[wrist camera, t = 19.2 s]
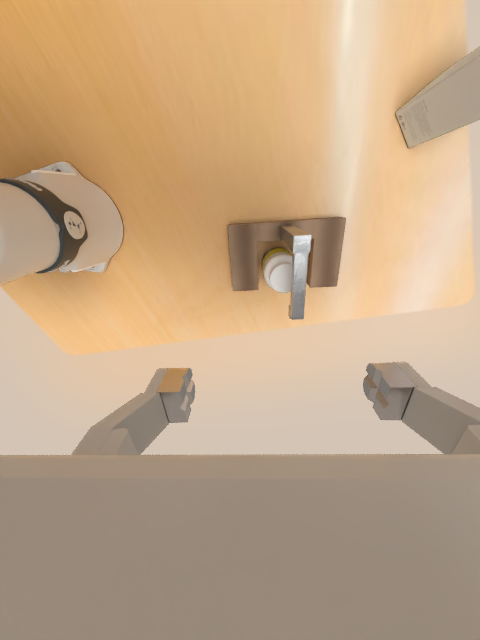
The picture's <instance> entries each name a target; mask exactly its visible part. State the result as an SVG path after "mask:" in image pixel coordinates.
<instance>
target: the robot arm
mask: <svg viewBox="0 0 480 640" xmlns="http://www.w3.org/2000/svg"><path fill="white" fill-rule="evenodd" d="M59 170H60V171H61V172H59ZM122 239H123V224H122V220H121V217H120V214H119V212H118V209H117V208H116V206H115V204H114V203H113V201H112V200H111V198H110V197H109V196H108V195H107V194H106V193H105V192H104V191H103V190H102V189H101V188H99V187H98V186H97V185H95V184H94V183H92V182H90V181H88V180H87V179H85V178H84V177H83V176H82V175H81V174H80V173H79V172H78V171H77V170H76V169H75V168H74V167H73V166H72V165H71V164H70V163H68V162H64V161H60V162H57V163H54V164H51V165H49V166H46V167H43V168H41V169H38V170H31V172H30V173H27V174H25V175H22V176H19V177H17V178H5V179H2V178H0V286H1V285H4V284H6V283H9V282H11V281H14V280H16V279H19V278H22V277H24V276H27V275H30V274H33V273H45V272H54V271H57V270H58V269H59V271H60V272H61V273H66V272H69V271H72V272H78V271H82V270H84V271H91V272H104V271H105V270H106V269H107V266H108V263H109V260H110V258H111V257H112V256H113V255H114V254H115V253H116V252H117V251H118V249H119V248H120V246H121V243H122ZM94 266H95V267H94ZM366 371H367V373H368V375H367V376H366V377H365V378H364V382H363V387H364V392H365V395H366V396H367V398H368V399H369V400H370V401H372V402H373V403H374V405H373V408H374V410H375V412H376V413H377V415H378V416H379V418H380V420H402V422H403V423H405V424H406V425H407V426H409V427H410V428H411V429H413V430H414V431H415V432H416V433H418V434H419V435H420V436H422V437H423V438H424V439H426V440H427V441H428V442H429V443H431V444H432V445H433V446H435V447H436V448H437V449H438V450H440V451H441V452H442V453H444V454H384V455H383V454H382V455H381V454H375V455H374V454H367V455H365V454H363V455H362V454H356V455H355V454H350V455H348V454H347V455H346V454H343V455H342V454H339V455H338V454H336V455H140V454H141V453H142V452H143V451H144V450H145V449H146V448H147V447H148V446H149V444H151V442H152V441H153V440H154V439H155V438H156V437H157V436H158V435H159V434H160V433H161V432H162V431H163V430H164V429H165V428H166V426H167V425H168V424H169V423H175V422H176V423H178V422H188V418H189V415H190V411H191V408H190V404H192V403H193V400H194V397H195V385H194V382H193V381H192V380H191V378H192V371H191V369H190V368H159V369H158V370H157V371H156V373H155V375H154V376H153V378H152V380H151V382H150V384H149V385H148V387H147V389H146V391H145V392H144V393H140V394H139V395H138V396H136V397H135V398H133V399H132V400H130V401H129V402H128V403H126V404H124V405H123V406H121V407H120V408H119V409H117V410H116V411H114V412H113V413H111V414H110V415H108V416H107V417H105V418H104V419H103V420H101V421H100V422H98V423H97V424H95V425H94V426H92V427H91V428H90V429H89V430H88V432H87V433H86V435H85V436H84V438H83V439H82V440H81V442H80V443H79V444H78V446H77V447H76V449H75V450H74V451H73V453H72V454H71V455H0V640H480V408H479V407H476V406H474V405H472V404H470V403H468V402H466V401H464V400H462V399H460V398H458V397H455V396H453V395H451V394H449V393H447V392H445V391H443V390H441V389H439V388H436V387H431V386H430V385H429V384H428V383H427V382H426V381H425V380H424V379H423V378H422V377H421V376H420V375H419V374H418V373H417V372H416V371H415V370H414V369H413V368H412V367H411V366H410V365H409V364H408V363H406V362H393V363H369V364H368V366H367V369H366Z"/></svg>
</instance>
